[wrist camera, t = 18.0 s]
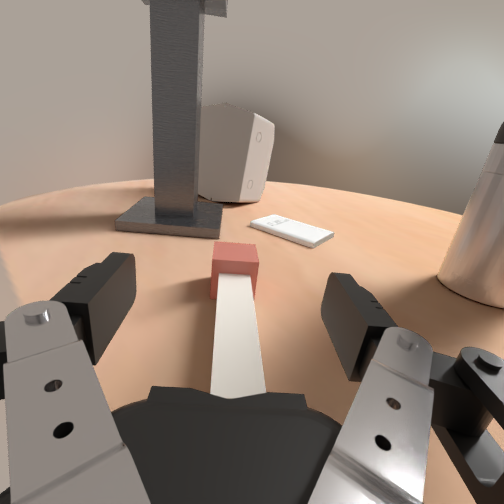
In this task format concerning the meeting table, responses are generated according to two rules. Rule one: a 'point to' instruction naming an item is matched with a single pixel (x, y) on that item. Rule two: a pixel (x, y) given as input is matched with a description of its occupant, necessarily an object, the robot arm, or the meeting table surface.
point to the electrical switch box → (233, 153)
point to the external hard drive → (292, 230)
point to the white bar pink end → (235, 322)
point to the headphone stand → (176, 123)
